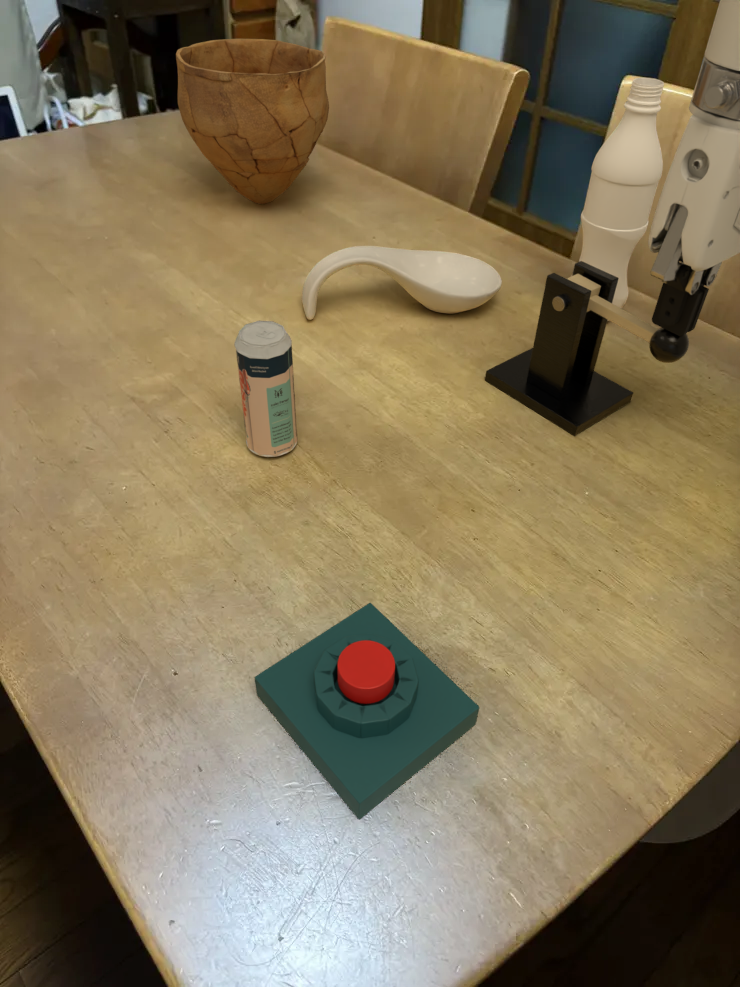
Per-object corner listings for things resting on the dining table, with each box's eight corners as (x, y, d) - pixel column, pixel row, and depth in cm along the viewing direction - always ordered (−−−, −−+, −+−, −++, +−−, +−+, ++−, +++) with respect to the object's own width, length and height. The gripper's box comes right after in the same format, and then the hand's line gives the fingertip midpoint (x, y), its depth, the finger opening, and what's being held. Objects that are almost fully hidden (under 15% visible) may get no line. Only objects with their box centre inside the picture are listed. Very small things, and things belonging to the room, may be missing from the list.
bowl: (207, 174, 120) (190, 29, 106) (334, 178, 119) (333, 34, 106) (178, 229, 104) (153, 68, 91) (323, 234, 104) (320, 74, 91)
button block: (476, 724, 50) (483, 691, 47) (359, 820, 45) (359, 789, 42) (369, 620, 56) (370, 585, 53) (256, 695, 51) (251, 660, 48)
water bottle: (556, 321, 88) (607, 87, 71) (565, 293, 93) (614, 68, 76) (619, 332, 87) (686, 95, 70) (624, 303, 92) (687, 76, 75)
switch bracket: (630, 402, 77) (667, 287, 68) (574, 436, 72) (605, 318, 64) (540, 351, 83) (563, 240, 75) (484, 380, 79) (501, 266, 70)
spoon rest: (480, 275, 96) (487, 220, 91) (512, 321, 88) (521, 264, 83) (296, 291, 92) (294, 234, 87) (312, 341, 84) (310, 281, 79)
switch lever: (688, 362, 66) (702, 331, 64) (667, 374, 65) (680, 343, 62) (573, 297, 73) (582, 267, 71) (552, 308, 71) (560, 277, 69)
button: (405, 682, 48) (407, 667, 47) (362, 715, 46) (362, 699, 45) (369, 646, 50) (370, 630, 49) (326, 675, 48) (325, 660, 47)
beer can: (261, 424, 73) (250, 313, 65) (306, 436, 72) (300, 324, 63) (237, 453, 69) (222, 340, 61) (283, 466, 68) (275, 353, 60)
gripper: (744, 128, 46) (658, 377, 59) (855, 87, 53) (757, 317, 66) (641, 97, 50) (581, 336, 63) (757, 63, 57) (683, 284, 70)
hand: (672, 326), depth 64 cm, fingers closed
